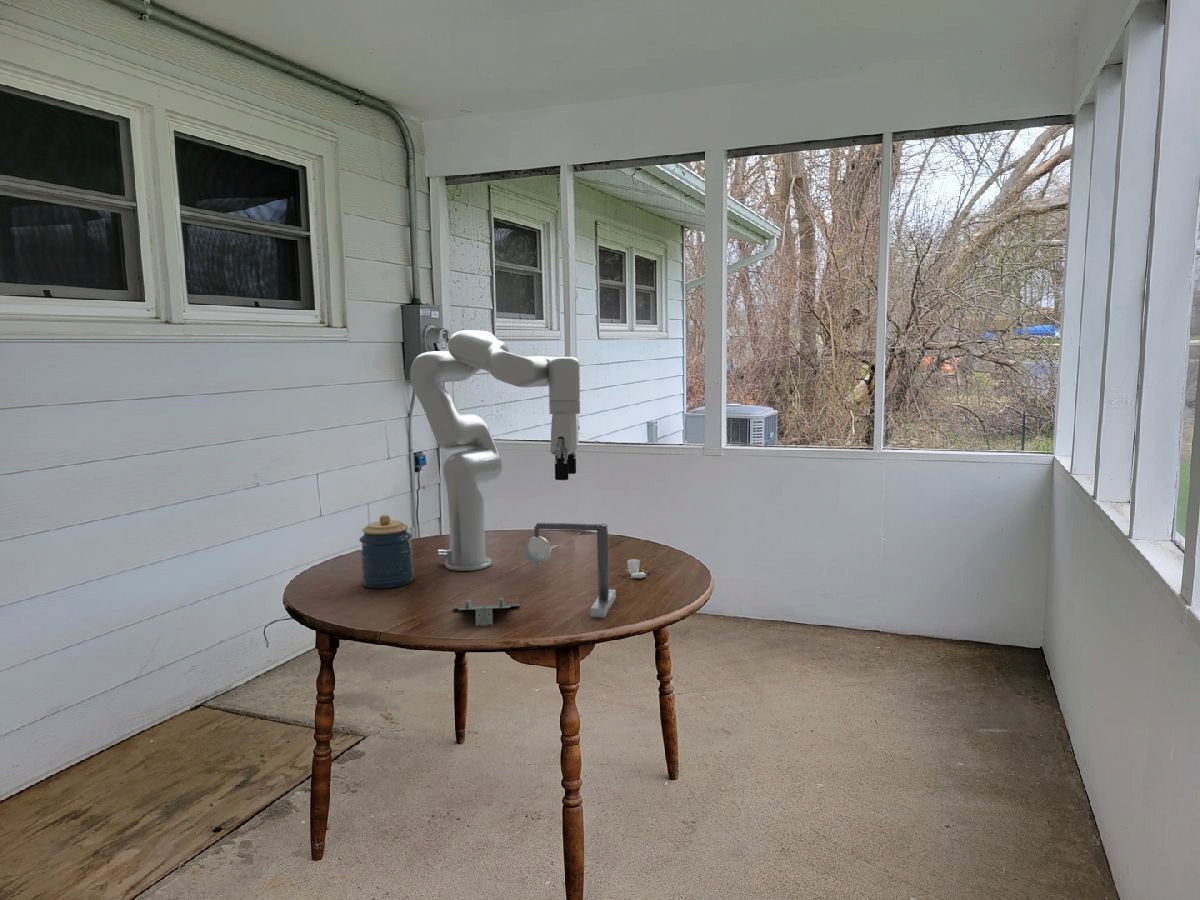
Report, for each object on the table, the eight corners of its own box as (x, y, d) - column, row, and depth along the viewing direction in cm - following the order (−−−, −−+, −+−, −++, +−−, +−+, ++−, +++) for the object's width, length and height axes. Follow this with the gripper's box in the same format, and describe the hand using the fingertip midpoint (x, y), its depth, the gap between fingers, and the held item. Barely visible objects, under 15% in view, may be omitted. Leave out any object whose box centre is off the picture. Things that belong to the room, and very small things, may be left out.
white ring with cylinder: (646, 581, 198) (646, 566, 198) (615, 580, 200) (615, 565, 199) (651, 572, 207) (651, 557, 206) (621, 571, 208) (621, 556, 208)
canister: (421, 583, 199) (417, 515, 197) (370, 592, 192) (366, 522, 190) (404, 572, 210) (401, 507, 208) (355, 580, 203) (352, 513, 201)
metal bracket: (518, 598, 168) (447, 601, 166) (519, 625, 167) (448, 629, 165) (519, 596, 182) (454, 599, 180) (520, 622, 181) (454, 625, 179)
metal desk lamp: (517, 613, 174) (515, 529, 172) (535, 594, 188) (533, 516, 186) (604, 617, 170) (602, 532, 168) (615, 598, 184) (614, 518, 182)
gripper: (557, 405, 200) (558, 471, 202) (541, 410, 183) (543, 482, 185) (585, 405, 199) (586, 471, 201) (572, 410, 182) (574, 482, 184)
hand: (565, 476), depth 193 cm, fingers open, 9 cm apart
